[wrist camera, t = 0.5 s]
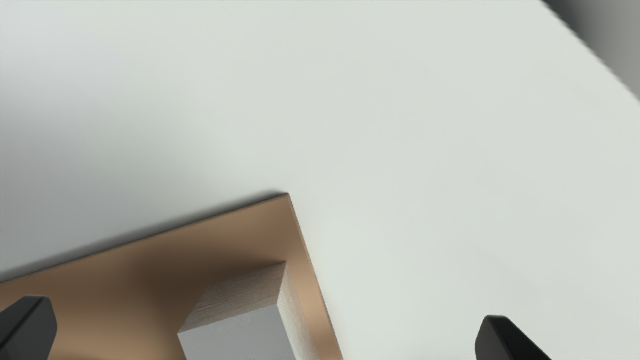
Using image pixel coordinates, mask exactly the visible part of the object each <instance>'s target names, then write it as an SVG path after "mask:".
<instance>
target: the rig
mask: <svg viewBox="0 0 640 360" xmlns="http://www.w3.org/2000/svg"><path fill="white" fill-rule="evenodd" d="M177 335H178V338H179V340H180V343H181V346H182V348H183V351H184V354H185V356H186V359H187V360H320V359H319V356H318V353H317V350H316V347H315V344H314V341H313V338H312V335H311V332H310V329H309V326H308V323H307V320H306V317H305V314H304V311H303V308H302V305H301V302H300V299H299V296H298V293H297V290H296V287H295V284H294V281H293V278H292V275H291V272H290V269H289V266H288V263H287V261H285V262H282V263H279V264H276V265H272V266H269V267H266V268H262V269H259V270H256V271H253V272H249V273H246V274H243V275H239V276H236V277H233V278H230V279H226V280H223V281H220V282H216V283H213V284H210V285H208V287H207V288H206V290H205V291H204V293H203V294H202V296H201V297H200V299H199V301H198V302H197V304H196V305H195V307H194V308H193V310H192V311H191V313H190V314H189V316H188V317H187V319H186V320H185V322H184V324H183V325H182V327H181V328H180V330H179V331H178V333H177Z"/></svg>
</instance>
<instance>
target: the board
mask: <svg viewBox="0 0 640 360" xmlns="http://www.w3.org/2000/svg"><path fill="white" fill-rule="evenodd" d="M285 261H287V263H288V266H289V269H290V272H291V275H292V278H293V281H294V284H295V287H296V290H297V293H298V296H299V299H300V302H301V305H302V308H303V311H304V314H305V317H306V320H307V323H308V326H309V329H310V332H311V335H312V338H313V341H314V344H315V347H316V350H317V353H318V356H319V359H320V360H343V357H342V354H341V351H340V348H339V345H338V342H337V339H336V336H335V333H334V330H333V327H332V324H331V321H330V317H329V314H328V311H327V308H326V305H325V302H324V299H323V296H322V293H321V290H320V287H319V284H318V281H317V278H316V275H315V272H314V269H313V266H312V263H311V260H310V257H309V254H308V251H307V248H306V245H305V241H304V238H303V235H302V232H301V229H300V226H299V223H298V220H297V217H296V214H295V211H294V208H293V205H292V202H291V199H290V196H289V193H287V194H284V195H281V196H278V197H275V198H271V199H268V200H265V201H262V202H259V203H255V204H252V205H249V206H246V207H242V208H239V209H236V210H233V211H230V212H226V213H223V214H220V215H217V216H214V217H210V218H207V219H204V220H201V221H197V222H194V223H191V224H188V225H185V226H181V227H178V228H175V229H172V230H169V231H165V232H162V233H159V234H156V235H152V236H149V237H146V238H143V239H140V240H136V241H133V242H130V243H127V244H124V245H120V246H117V247H114V248H111V249H107V250H104V251H101V252H98V253H95V254H91V255H88V256H85V257H82V258H79V259H75V260H72V261H69V262H66V263H62V264H59V265H56V266H53V267H50V268H46V269H43V270H40V271H37V272H34V273H30V274H27V275H24V276H21V277H17V278H14V279H11V280H8V281H5V282H1V283H0V312H1V311H2V310H4V309H5V308H7V307H8V306H9V305H11V304H12V303H14V302H15V301H17V300H18V299H20V298H21V297H23V296H25V295H46V296H48V297H49V298H50V301H51V304H52V307H53V310H54V314H55V317H56V320H57V333H56V337H55V339H54V342H53V345H52V348H51V351H50V353H49V356H48V359H47V360H187V359H186V356H185V354H184V351H183V348H182V346H181V343H180V340H179V338H178V335H177V333H178V331H179V330H180V328H181V327H182V325H183V324H184V322H185V320H186V319H187V317H188V316H189V314H190V313H191V311H192V310H193V308H194V307H195V305H196V304H197V302H198V301H199V299H200V297H201V296H202V294H203V293H204V291H205V290H206V288H207V287H208V285H210V284H213V283H216V282H220V281H223V280H226V279H230V278H233V277H236V276H239V275H243V274H246V273H249V272H253V271H256V270H259V269H262V268H266V267H269V266H272V265H276V264H279V263H282V262H285Z"/></svg>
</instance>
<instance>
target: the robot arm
mask: <svg viewBox="0 0 640 360" xmlns="http://www.w3.org/2000/svg"><path fill="white" fill-rule="evenodd" d="M56 333H57V320H56V317H55V314H54V310H53V307H52V304H51V301H50V298H49V297H48V296H46V295H25V296H23V297H21V298H20V299H18V300H17V301H15V302H14V303H12V304H11V305H9V306H8V307H7V308H5V309H4V310H2V311H1V312H0V360H47V359H48V356H49V353H50V351H51V348H52V345H53V342H54V339H55V337H56ZM475 353H476V359H477V360H551V359H550V358H549V357H548V356H547V355H546V354H545V353H544V352H543V351H542V350H541V349H540V348H539V347H538V346H537V345H536V344H535V343H534V342H533V341H532V340H530V339H529V338H528V337H527V336H526V335H525V334H524V333H523V332H522V331H521V330H520V329H519V328H518V327H517V326H516V325H515V324H514V323H513V322H512V321H511V320H510V319H508V318H507V317H505V316H502V315H487V316H485V317H484V319H483V321H482V324H481V327H480V330H479V332H478V335H477V338H476V341H475Z"/></svg>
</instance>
